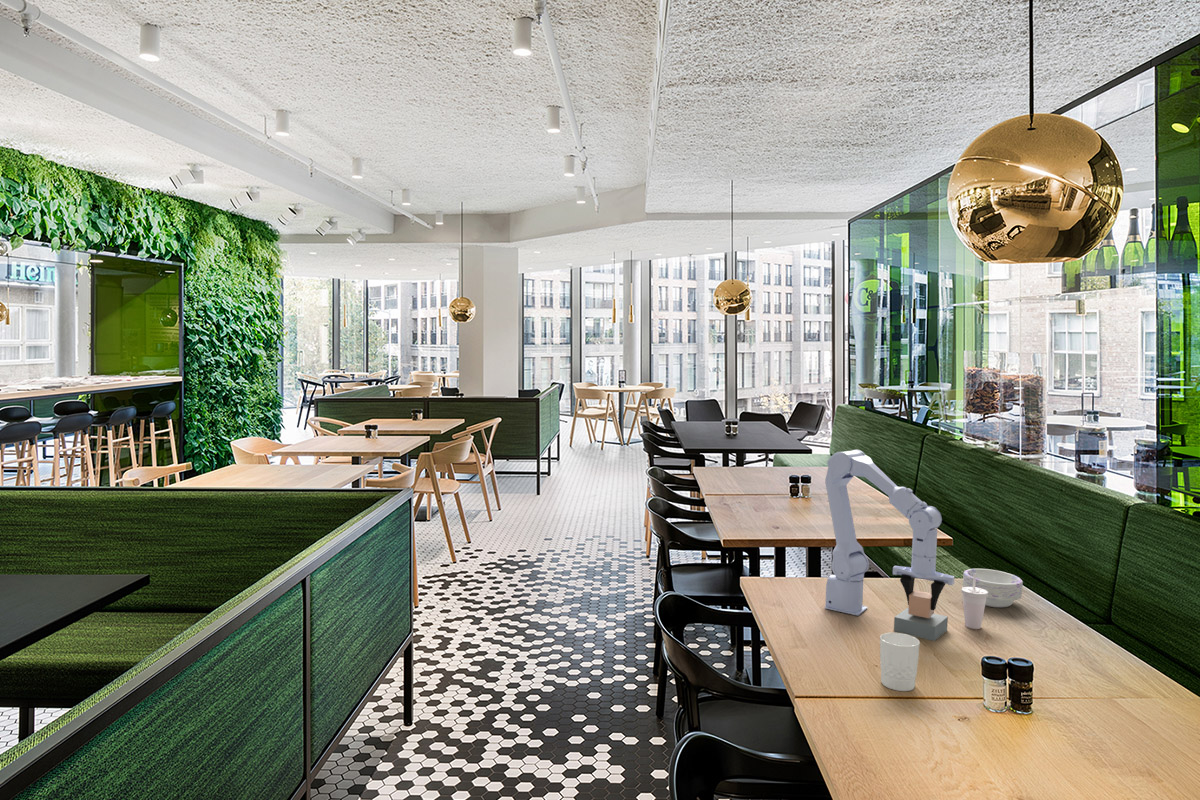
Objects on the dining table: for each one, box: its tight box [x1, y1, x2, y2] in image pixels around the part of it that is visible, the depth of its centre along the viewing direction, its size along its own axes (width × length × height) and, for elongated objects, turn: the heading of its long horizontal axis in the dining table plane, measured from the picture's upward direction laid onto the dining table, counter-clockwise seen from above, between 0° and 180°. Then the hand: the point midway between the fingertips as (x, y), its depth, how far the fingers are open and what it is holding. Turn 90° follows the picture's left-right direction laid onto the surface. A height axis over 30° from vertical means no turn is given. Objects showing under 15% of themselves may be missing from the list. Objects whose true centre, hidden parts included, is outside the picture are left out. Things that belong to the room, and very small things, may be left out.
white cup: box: [879, 632, 921, 692], centre depth 163 cm, size 8×8×10 cm
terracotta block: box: [908, 589, 935, 618], centre depth 195 cm, size 5×5×5 cm
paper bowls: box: [962, 568, 1024, 608], centre depth 219 cm, size 15×15×8 cm
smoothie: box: [960, 573, 988, 630], centre depth 199 cm, size 6×6×14 cm
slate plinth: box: [893, 606, 949, 642], centre depth 196 cm, size 10×10×4 cm
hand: (921, 606), depth 195 cm, fingers closed on terracotta block, 5 cm apart
